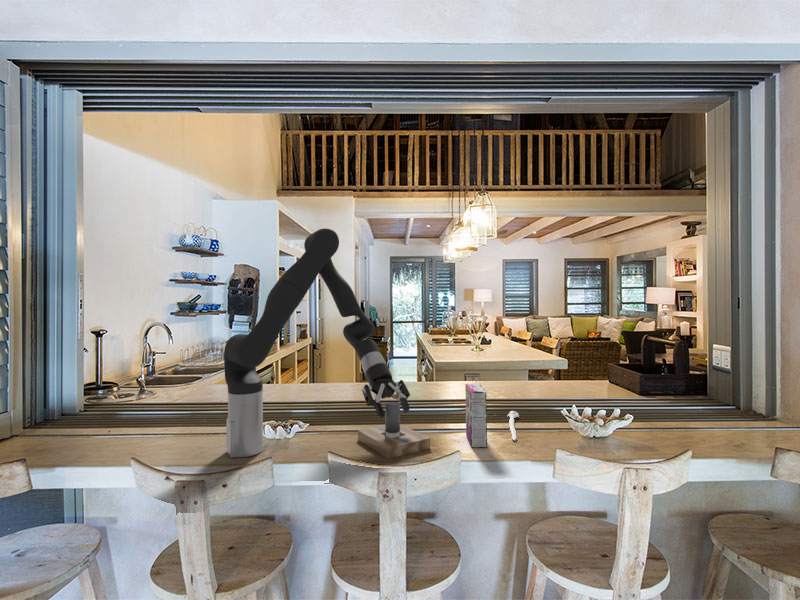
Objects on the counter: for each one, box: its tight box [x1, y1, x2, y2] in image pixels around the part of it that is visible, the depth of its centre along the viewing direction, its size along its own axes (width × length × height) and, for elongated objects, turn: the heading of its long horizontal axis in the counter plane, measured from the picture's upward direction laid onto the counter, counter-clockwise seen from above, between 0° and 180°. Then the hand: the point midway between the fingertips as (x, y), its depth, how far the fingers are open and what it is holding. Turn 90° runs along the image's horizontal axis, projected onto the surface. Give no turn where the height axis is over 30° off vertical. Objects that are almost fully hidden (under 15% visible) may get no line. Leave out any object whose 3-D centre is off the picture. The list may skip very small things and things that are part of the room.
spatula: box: [507, 410, 520, 442], centre depth 137 cm, size 28×4×3 cm, turn 168°
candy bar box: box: [464, 383, 488, 448], centre depth 124 cm, size 11×5×16 cm, turn 179°
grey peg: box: [384, 401, 401, 438], centre depth 122 cm, size 4×4×12 cm
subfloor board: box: [357, 423, 431, 460], centre depth 122 cm, size 14×18×3 cm
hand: (395, 413), depth 121 cm, fingers open, 8 cm apart
